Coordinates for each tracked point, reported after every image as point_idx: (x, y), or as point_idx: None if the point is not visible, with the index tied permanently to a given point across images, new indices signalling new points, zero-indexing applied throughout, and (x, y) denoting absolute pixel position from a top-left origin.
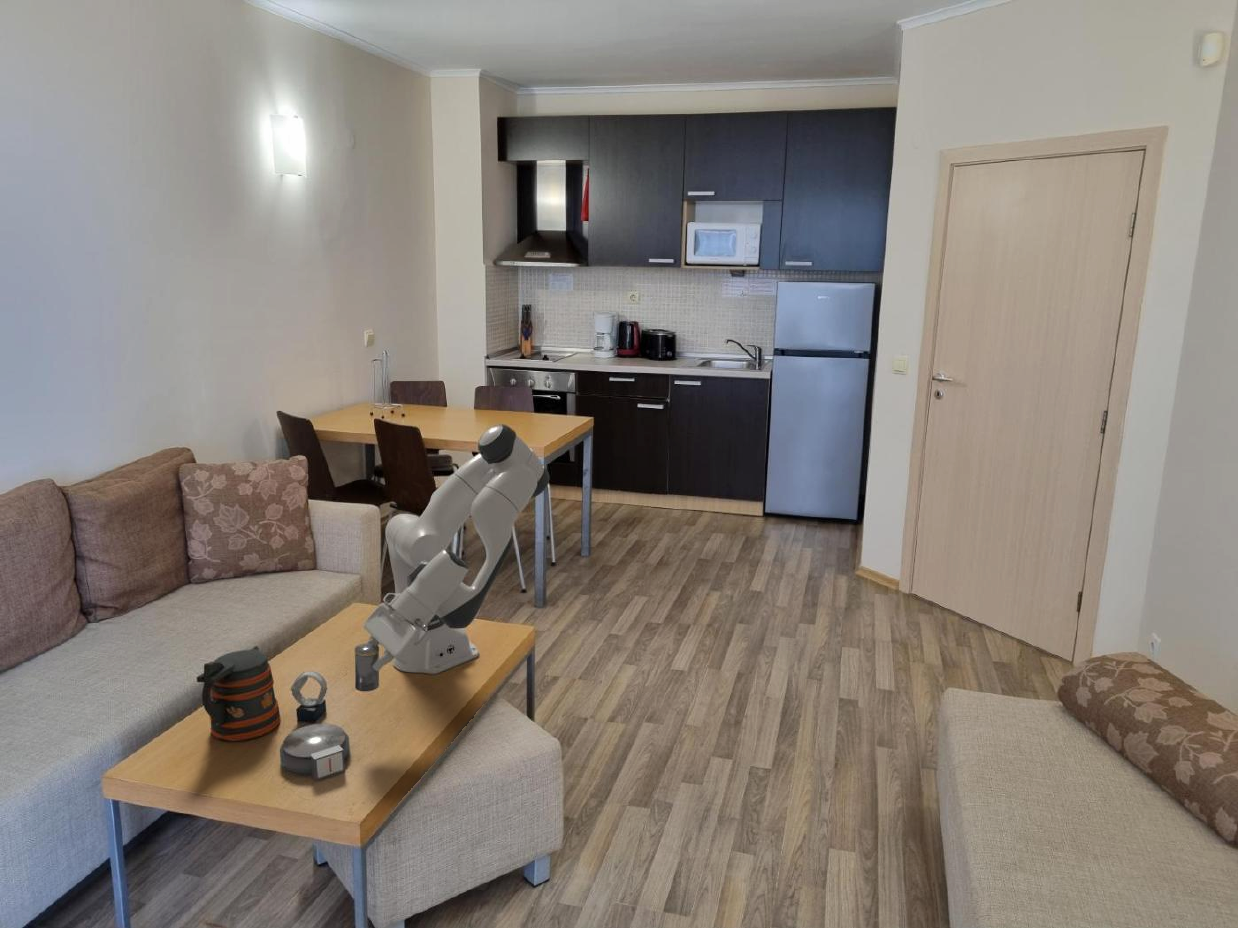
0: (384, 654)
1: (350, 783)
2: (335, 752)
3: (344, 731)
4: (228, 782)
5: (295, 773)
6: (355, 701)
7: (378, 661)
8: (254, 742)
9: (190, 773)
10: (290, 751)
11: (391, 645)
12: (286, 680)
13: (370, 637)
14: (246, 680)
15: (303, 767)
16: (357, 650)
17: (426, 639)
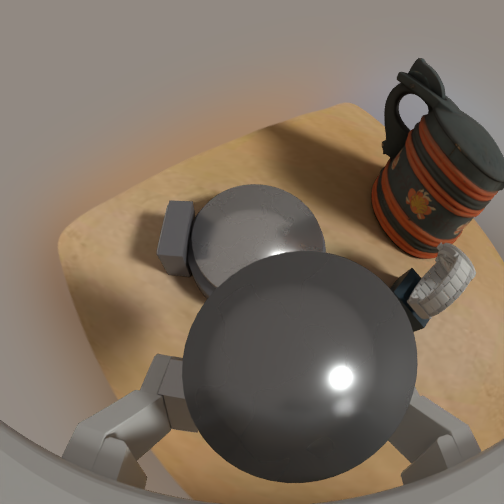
0: (93, 436)
1: (128, 265)
2: (160, 238)
3: None
4: (268, 147)
5: None
6: None
7: (140, 392)
8: (362, 203)
9: (318, 131)
10: (240, 187)
11: (3, 480)
12: (500, 305)
13: (471, 444)
14: (426, 133)
15: None
16: (303, 265)
17: None
